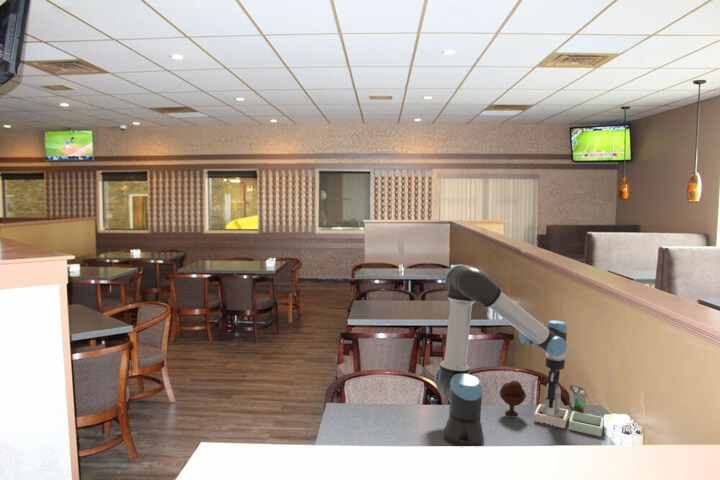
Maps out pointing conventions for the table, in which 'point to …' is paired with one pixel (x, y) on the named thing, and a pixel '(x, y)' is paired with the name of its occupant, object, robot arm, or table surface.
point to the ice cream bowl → (512, 396)
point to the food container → (577, 398)
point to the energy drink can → (557, 401)
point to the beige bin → (549, 419)
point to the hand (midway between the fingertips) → (551, 411)
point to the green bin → (586, 427)
